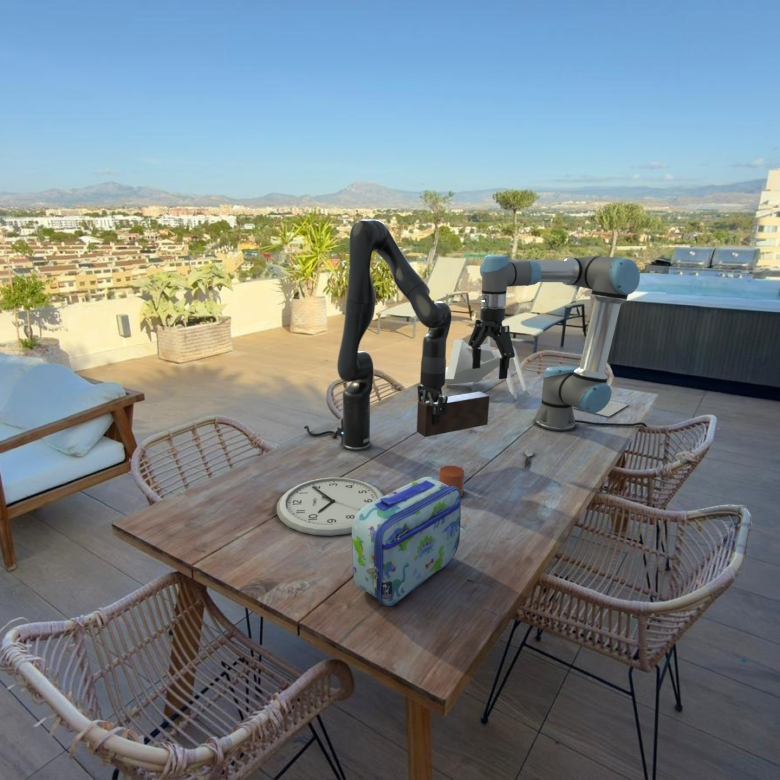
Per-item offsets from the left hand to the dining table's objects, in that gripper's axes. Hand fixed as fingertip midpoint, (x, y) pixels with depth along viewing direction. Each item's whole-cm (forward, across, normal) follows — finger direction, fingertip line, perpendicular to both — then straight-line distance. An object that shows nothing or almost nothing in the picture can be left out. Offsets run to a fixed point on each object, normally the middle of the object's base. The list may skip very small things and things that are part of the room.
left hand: (430, 421), depth 162 cm
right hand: (-13, 0, +21) cm, 25 cm away
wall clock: (+15, +9, -37) cm, 41 cm away
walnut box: (+4, 0, +9) cm, 9 cm away
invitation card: (+15, -17, +99) cm, 102 cm away
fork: (+15, +10, +32) cm, 37 cm away
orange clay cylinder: (+15, +17, -3) cm, 23 cm away
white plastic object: (+15, -56, +64) cm, 86 cm away
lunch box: (+15, +45, -34) cm, 58 cm away
